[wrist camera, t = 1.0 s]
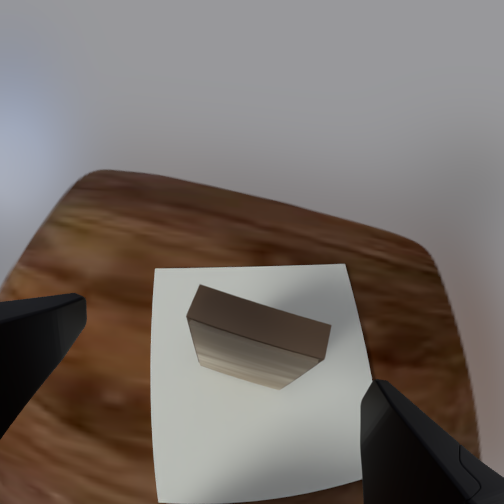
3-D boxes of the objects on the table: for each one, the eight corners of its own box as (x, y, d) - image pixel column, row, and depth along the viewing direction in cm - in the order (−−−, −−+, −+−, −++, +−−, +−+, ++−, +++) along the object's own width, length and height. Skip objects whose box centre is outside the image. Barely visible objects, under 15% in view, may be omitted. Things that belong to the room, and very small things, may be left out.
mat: (381, 470, 16) (385, 471, 15) (160, 500, 14) (158, 502, 13) (342, 267, 26) (344, 263, 25) (156, 272, 24) (155, 268, 23)
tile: (281, 391, 19) (323, 363, 11) (197, 365, 19) (184, 320, 12) (287, 367, 20) (331, 324, 12) (206, 342, 20) (199, 284, 13)
